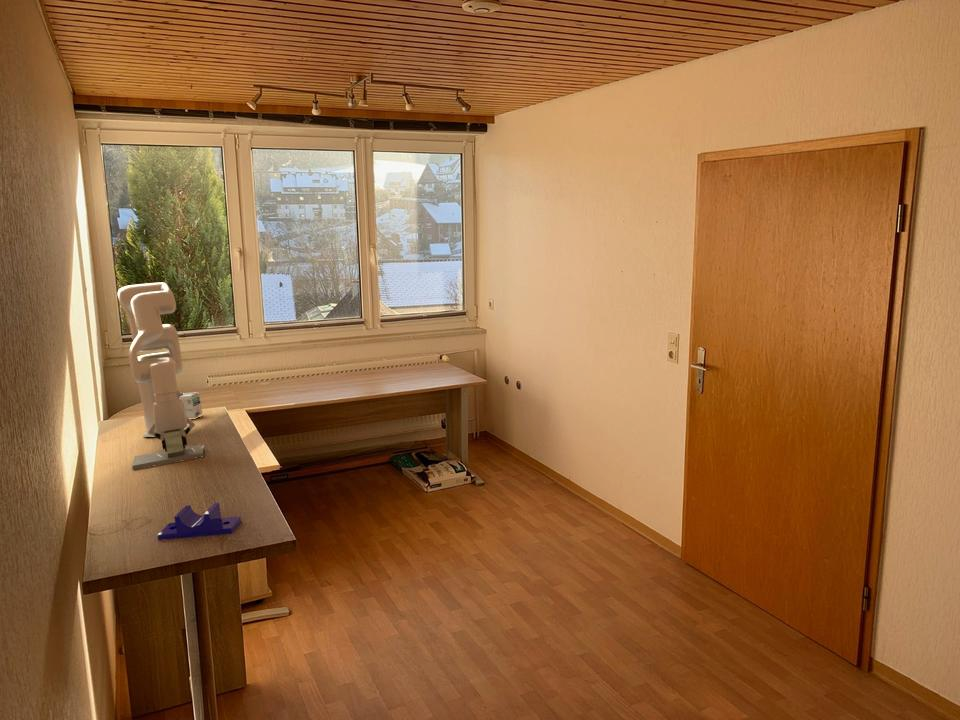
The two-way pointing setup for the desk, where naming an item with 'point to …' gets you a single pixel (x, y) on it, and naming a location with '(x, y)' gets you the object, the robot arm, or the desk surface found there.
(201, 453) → the board
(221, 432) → the desk surface
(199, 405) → the light bulb box
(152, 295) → the robot arm
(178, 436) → the block
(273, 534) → the desk surface
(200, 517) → the mounting bracket
